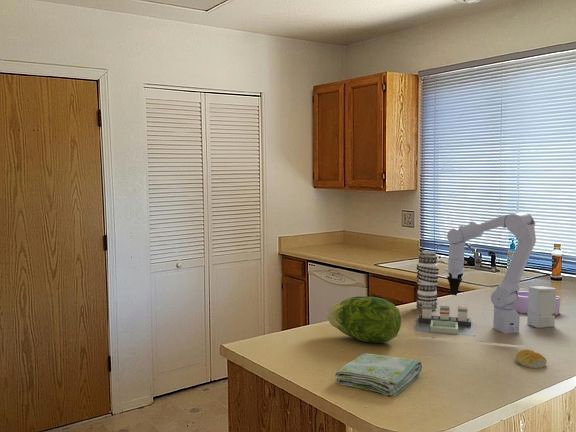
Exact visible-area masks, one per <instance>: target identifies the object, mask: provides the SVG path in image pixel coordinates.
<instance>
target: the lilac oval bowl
mask: <svg viewBox="0 0 576 432" xmlns="http://www.w3.org/2000/svg"><path fill="white" fill-rule="evenodd" d="M528 296H529V290H528V291H526V290H519V291H518V300H517V302H516V303H515V311H516V312H517V313H523V314H528ZM560 304H561V296H559V295H556V306H555V316H558V315H559V314H560Z"/></svg>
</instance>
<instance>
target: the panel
mask: <svg viewBox="0 0 576 432" xmlns="http://www.w3.org/2000/svg"><path fill="white" fill-rule="evenodd" d="M414 325H415V326H414V330H413V331H414V332H421V333H432V334H447V335H458V336H468V337H469V336H470V337H475V336H476V334H475V333H476V332H475V327H474V322H473V321H472V319H471V317H470V318H469V317H467V321H458V316H456V317H455V316H449V320H442V319H440V315H432V319H429V318H422V314H418V317H416V320H415V324H414Z"/></svg>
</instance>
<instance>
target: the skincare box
mask: <svg viewBox="0 0 576 432" xmlns="http://www.w3.org/2000/svg"><path fill="white" fill-rule="evenodd" d="M528 292H529V296H528V313H527V319H526V321H527V322H526V324H527V325H529V326H531V327H534V328H536V329H539V328H541V329H542V328H551V327H552V328H553V327H555V326H556V315H555V306H556V296H557V288H556V287H555V288H554V287H551V286H547V285H546V286H543V285H542V286H541V285H538V286H535V285H534V286H528Z"/></svg>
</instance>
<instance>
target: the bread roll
mask: <svg viewBox="0 0 576 432" xmlns="http://www.w3.org/2000/svg"><path fill="white" fill-rule="evenodd" d="M514 362H516V364H518V365H521V366H523V367H525V368H530V369H542V368H544V367H546V365H547V358H546V357H545V356H544V355H542V354H541V353H539V352H536V351H534V350H531V349H523V350H519V351H517V353H516V354H515V356H514Z"/></svg>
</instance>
